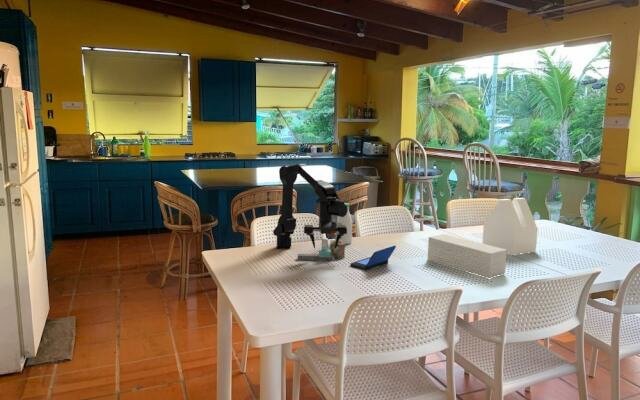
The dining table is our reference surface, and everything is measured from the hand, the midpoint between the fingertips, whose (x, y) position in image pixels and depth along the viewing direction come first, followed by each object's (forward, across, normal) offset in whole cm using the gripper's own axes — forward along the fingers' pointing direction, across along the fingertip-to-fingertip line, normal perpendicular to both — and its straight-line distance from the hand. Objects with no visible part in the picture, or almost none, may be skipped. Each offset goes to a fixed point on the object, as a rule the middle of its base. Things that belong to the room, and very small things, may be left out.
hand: (324, 248), depth 219 cm
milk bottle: (+5, +11, +30) cm, 32 cm away
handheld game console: (+6, +20, -9) cm, 23 cm away
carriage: (+3, 0, 0) cm, 3 cm away
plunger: (-1, +6, +7) cm, 9 cm away
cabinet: (+5, +6, +7) cm, 10 cm away
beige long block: (+6, +59, -10) cm, 60 cm away
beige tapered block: (+5, +91, +20) cm, 93 cm away
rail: (+5, -4, 0) cm, 6 cm away
